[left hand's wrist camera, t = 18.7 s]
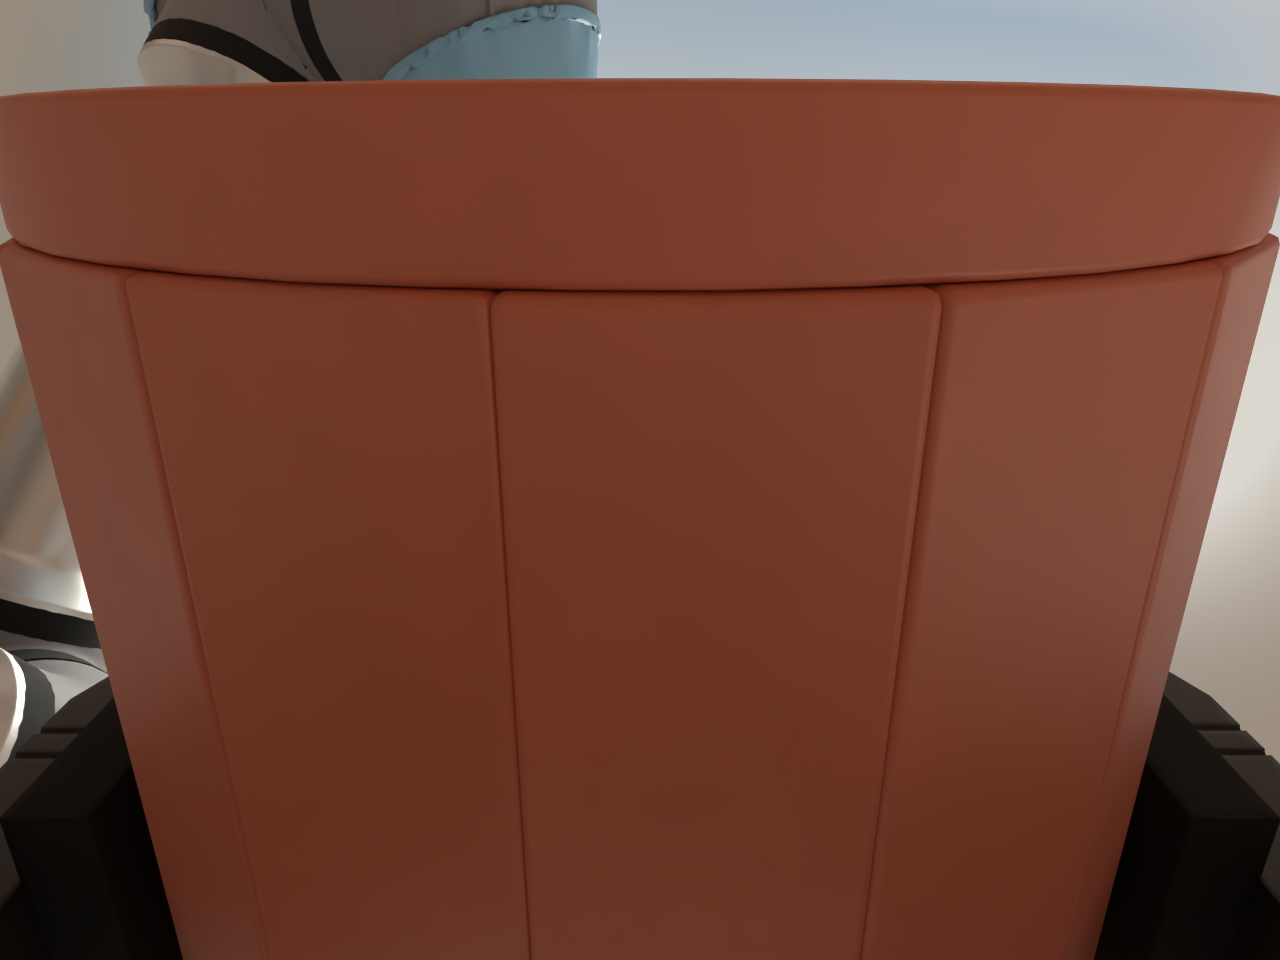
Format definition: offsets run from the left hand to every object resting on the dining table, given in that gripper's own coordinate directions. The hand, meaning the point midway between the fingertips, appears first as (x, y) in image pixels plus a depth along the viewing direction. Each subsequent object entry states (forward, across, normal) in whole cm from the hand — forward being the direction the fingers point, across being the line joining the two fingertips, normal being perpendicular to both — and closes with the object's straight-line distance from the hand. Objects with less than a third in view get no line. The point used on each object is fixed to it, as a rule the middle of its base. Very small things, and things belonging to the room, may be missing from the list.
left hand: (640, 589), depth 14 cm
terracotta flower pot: (-4, 0, -7) cm, 8 cm away
